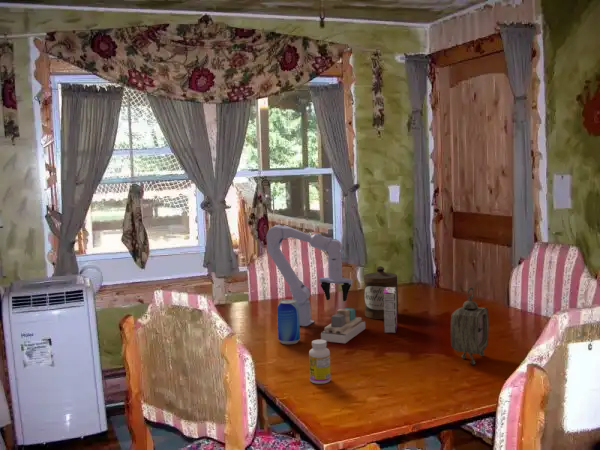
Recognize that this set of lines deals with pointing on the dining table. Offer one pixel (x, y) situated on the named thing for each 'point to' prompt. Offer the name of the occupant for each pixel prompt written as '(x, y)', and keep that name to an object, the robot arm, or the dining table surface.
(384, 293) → the candy bar box
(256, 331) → the dining table surface
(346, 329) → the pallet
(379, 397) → the dining table surface
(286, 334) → the beer can
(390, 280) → the wooden container
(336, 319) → the grey cube
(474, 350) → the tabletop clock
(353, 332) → the dock
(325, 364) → the supplement bottle
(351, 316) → the block
